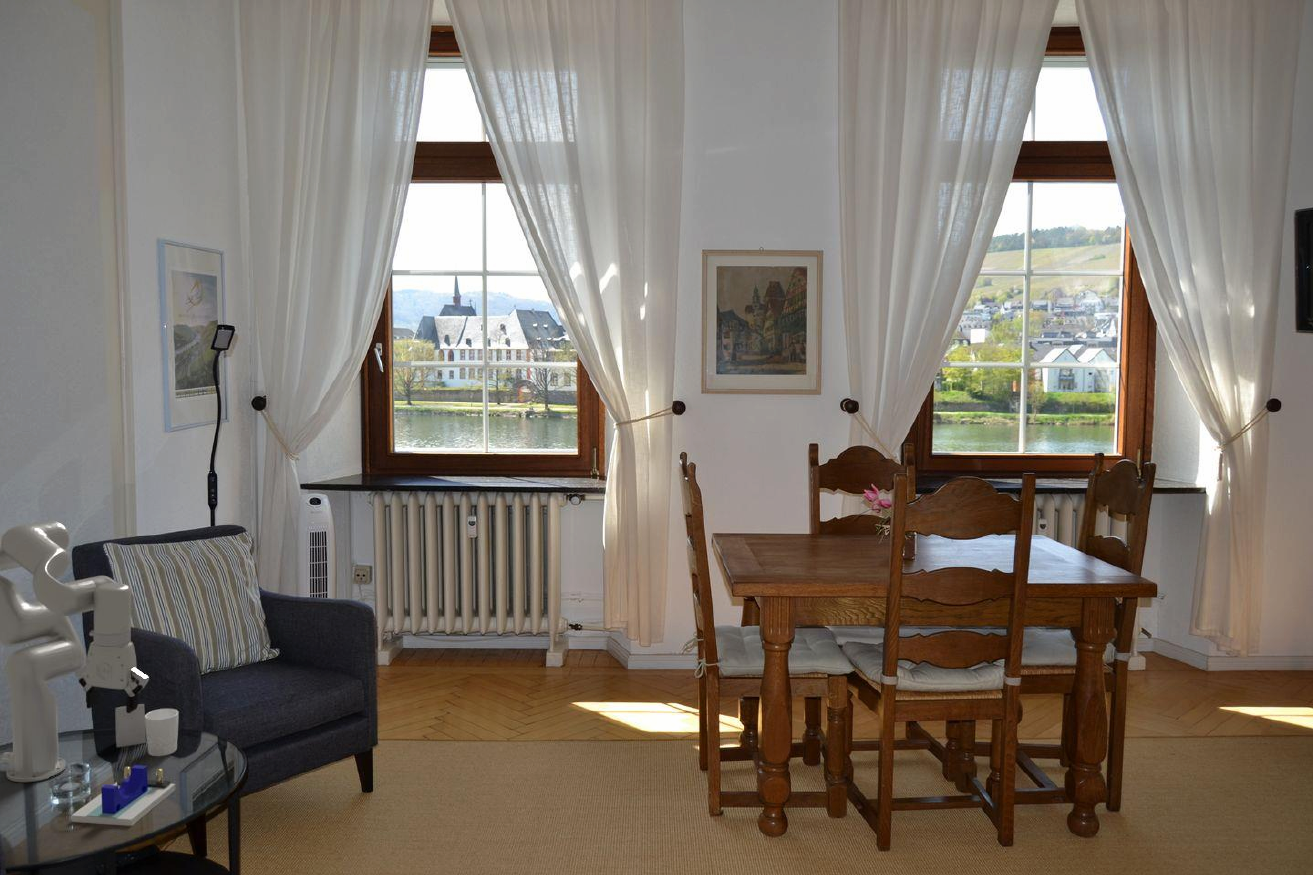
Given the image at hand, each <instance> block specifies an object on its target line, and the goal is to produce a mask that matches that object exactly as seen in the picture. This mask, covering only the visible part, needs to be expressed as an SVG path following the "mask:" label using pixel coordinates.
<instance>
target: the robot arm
mask: <svg viewBox="0 0 1313 875" xmlns="http://www.w3.org/2000/svg"><path fill="white" fill-rule="evenodd" d="M67 529H68V528H66V526H65V525H63V523H60V522H59V521H56V520H44V521H43V520H42V521H38V522H31V523H24V524H20V525H16V526H13V527H11V528H9V529H7V530H6V531H5V532H4V533H3V534H2V535H1V536H0V572H3V571H9V570H13V569H17V568H18V569H19V568H23V570H26V571H27V572H29V573H30V574H31V575H32V576H33V577H32V578H33V579H32V589H33V591H34V592H33V593H34V594H35V596H36V598H37V600H38V601H34V602H31V603H30V602H27V601H26V600H25V598H24V597H23V594H22V592H21V590H20V588H19V586H17V585H16V584H15V583H14V582H13V581H12V580H10V579H8V578H7V577H6V576H4V575H1V574H0V644H1V645H2V646H3V647H6V648H13V647H18V646H23V645H26V644H30V643H34V642H37V641H42V640H44V641H45V642H40V643H37V644H33V645H29V646H27V647H24V648H21V649H18V650H16V651H14V652H12V653H11V654H10V655H9V656H8V657H7V659H6V660H5V664H4V672H5V674H4V675H5V676H6V678H5V679H6V681H7V685H8V688H9V696H10V697H9V698H10V707H11V709H10V710H11V729H12V732H11V733H12V752H9V751H8V752H7V751H6V752H5V751H4V752H3V753H2V755H1V758H0V764H1V765H9V768H8V769H7V771H6V778H7V779H8V780H9V781H12V782H17V783H32V782H33V783H34V782H40V781H45V780H46V779H47V780H48V779H50V778H49V777H50V776H53V775H55V774H57V773H59V772H61V771H62V770H64V769H65V770H66V768H67V761H66V760H65V759H63V758H62V757H60V754H59V730H58V703H57V698H56V695H55V694H54V692H53V691H51V690H50V689H49V687H48V686H47V683H49V682H52V681H55V680H58V679H62V678H65V677H67V676H70V675H73V674H75V676H76V677H77V680H78V683H79V684H80V685H81V686H82V687H83V689H82V690H83V691H84V692H85V704H86V709H91V708H93V707H95V706H96V705H98V703H99V689H98V688H103V689H111V690H124V691H125V692H126V694H128V696H126V698H125V700H126V702H125V706H126V712H127V713H131V712H132V711H134V710H135V709H137V706H138V705H139V694H140V693H141V691H143V690H144V689H145V687H146V685H147V684H148V682H149V680H150V677H149V676H148V675H147V674H144V673H143V672H142V671H140V670H139V669H138V668H137V656H136V651H135V646H134V643H133V642H132V641H131V636H132V635H131V632H132V629H131V626H132V624H131V623H132V589H131V587H130V586H129V585H127V584H126V583H121V582H117V581H115V580H114V579H112V578H111V577H110V576H106V575H97V576H91V577H87V578H83V579H77V580H73V581H69V582H65V583H62V582H60V581H58V579H59V578H60V577H62V575H63V574H65V573H66V571H67V570H68V568H69V565H70V559H71V558H70V555H69V553H68V552H67V551H66V549H67V548H68V546H69V544H70V534H69V531H68V530H67ZM90 611H93V629H91V630H90V631H89V634H88V635H89V636H90V637H92V638H93V641H92V642H90V643H89V648H88V651H87V656H86V655H85V650H84V647H83V645H82V643H81V640H80V638H79V636H78V634H77V631H76V629H75V627H74V626H73V623H72V621H71V620H70V617H71V616H75V615H80V614H83V613H88V612H90ZM85 662H86V663H85ZM84 665H85V666H84ZM136 681H138V684H137V683H136ZM65 767H66V768H65ZM65 770H64V771H65ZM61 773H62V772H61ZM53 777H54V776H53Z"/></svg>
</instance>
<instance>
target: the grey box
mask: <svg viewBox="0 0 1313 875" xmlns="http://www.w3.org/2000/svg"><path fill="white" fill-rule="evenodd" d="M114 709H115V744H116V748H121V747H128V746H129V747H130V746H134V745H141V744H147V739H146V727H145V715H146V714H145V713H146V712H145V703H140V704H138V706H137V709H135V710H134V711H132V712H131V713H127V712H126V705H125V706H120V707H115V708H114Z"/></svg>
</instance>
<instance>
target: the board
mask: <svg viewBox="0 0 1313 875" xmlns="http://www.w3.org/2000/svg"><path fill="white" fill-rule="evenodd" d="M112 785H116V786H118V789H119V787H120V786H121V785H117V781H116V782H115V783H114V784H112ZM175 791H176V783H170V785H169V786H168V787H167V788H154V787H148V791H146V792H145V793H144V794H142V795H141V796H139V797H138V798H137V799H135V800H134V801H132V802H131V803H130V804H128V805H127V806H125V807H124V808H123V809H121V810H120V811H118V812H117V813H116V814H107V813H102V792H100V794H98V795H96V797H94V798H93V799H92V800H90V801H89V802H88V803H86V804H85V805H84V806H81V808H79V809H78V810H77V811H75V812H74V813H73V814H71V815H70V816H71V823H83V824H87V823H88V824H96V825H97V824H98V825H113V826H114V825H116V826H127V827H133V826H134V825H135V824H136V823H137V822H139V821H140V820H141V819H142V818H144V817H145V816H146V815H147V814H148V813H150V812H151V811H152V810H153V809H154V808H156V806H158V805H159V804H160V803H161V802H163V801H165V799H166V798H167V797H169V796H170V795H171V794H173V793H174V792H175Z"/></svg>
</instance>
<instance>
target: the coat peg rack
mask: <svg viewBox="0 0 1313 875" xmlns="http://www.w3.org/2000/svg"><path fill="white" fill-rule="evenodd" d="M155 771H156V772H155V775H156V776H155V777H156V780H155V779H147V780H148V787H154V788H167V787H168V786H169V785H170V784H171V781H170V780H164V776H163V775H164V769H163V768H157V769H155ZM130 775H131V766H130V765H129V766H125V767H123V777H122V778H120V779H118V781H116V782H117V785H121V784H122V782H123V781H124V780H126V779H127V778H129V777H130Z"/></svg>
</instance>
